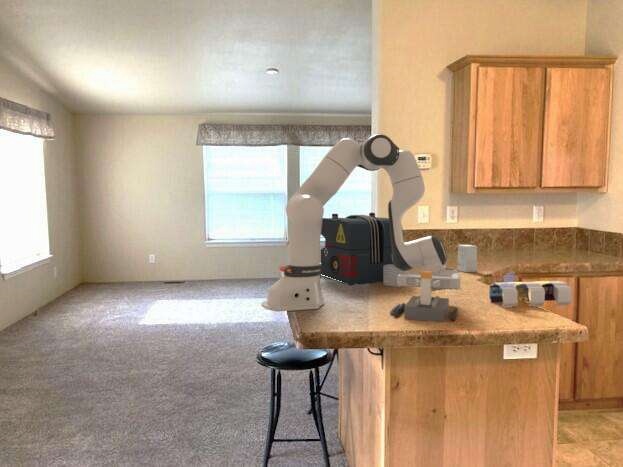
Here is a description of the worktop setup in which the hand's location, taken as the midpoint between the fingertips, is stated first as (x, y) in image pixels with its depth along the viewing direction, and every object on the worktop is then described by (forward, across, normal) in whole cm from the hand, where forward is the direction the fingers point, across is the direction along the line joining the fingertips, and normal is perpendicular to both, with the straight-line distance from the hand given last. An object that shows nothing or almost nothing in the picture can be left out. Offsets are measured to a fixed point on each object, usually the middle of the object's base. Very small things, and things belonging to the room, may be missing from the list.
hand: (425, 284), depth 154 cm
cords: (-5, -1, +10) cm, 12 cm away
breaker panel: (-5, 0, +10) cm, 12 cm away
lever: (-1, 0, +6) cm, 6 cm away
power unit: (-64, -39, +11) cm, 75 cm away
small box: (-101, +7, +11) cm, 102 cm away
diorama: (-32, +32, +11) cm, 47 cm away
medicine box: (-50, -20, +11) cm, 55 cm away
